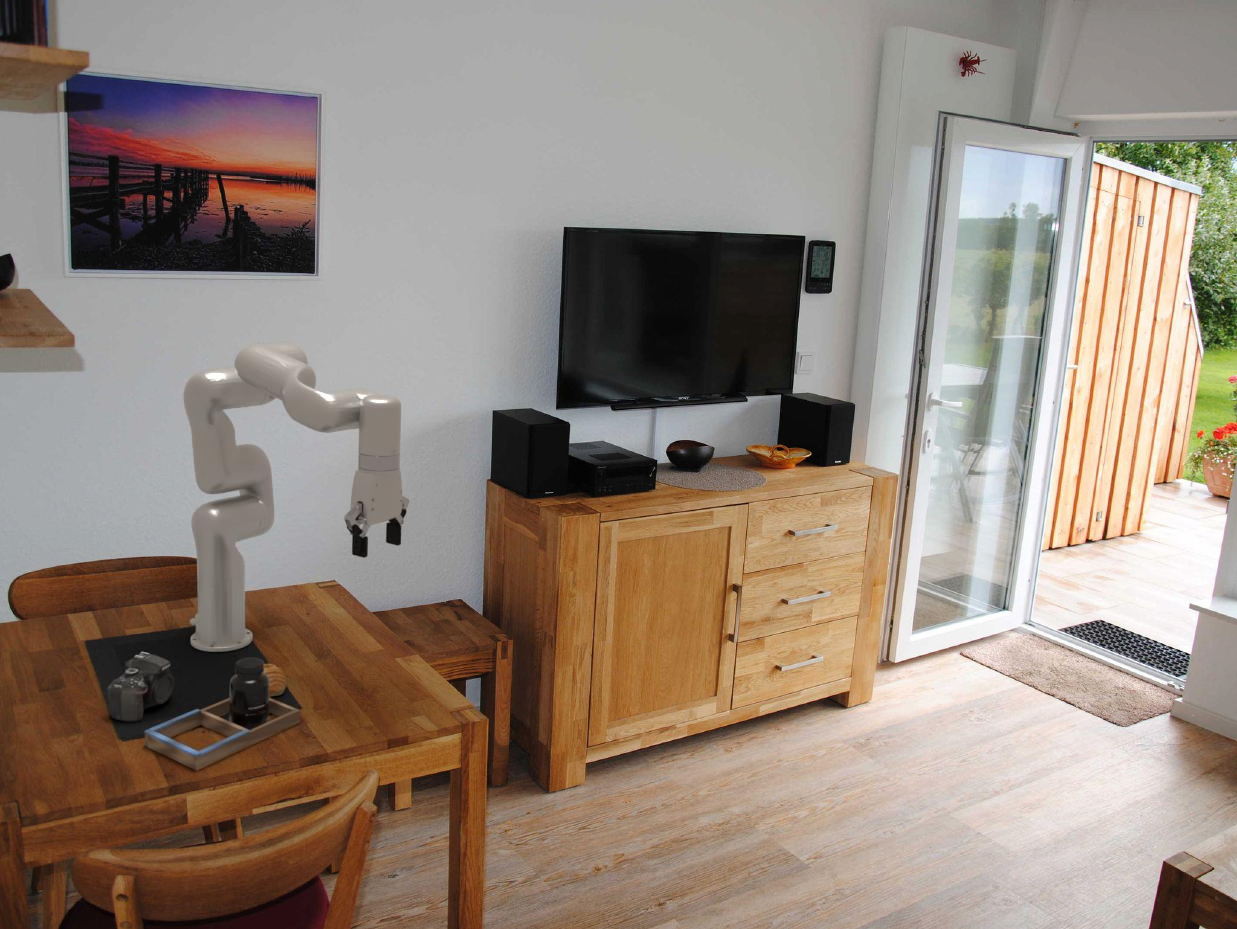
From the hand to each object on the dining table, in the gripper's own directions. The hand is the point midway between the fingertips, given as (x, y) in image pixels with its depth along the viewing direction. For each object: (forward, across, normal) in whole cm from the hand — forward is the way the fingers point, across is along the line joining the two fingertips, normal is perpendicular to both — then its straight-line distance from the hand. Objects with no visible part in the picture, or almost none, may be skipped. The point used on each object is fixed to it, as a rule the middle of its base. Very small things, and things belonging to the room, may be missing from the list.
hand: (376, 549), depth 197 cm
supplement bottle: (+31, +20, -12) cm, 39 cm away
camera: (+31, +26, -32) cm, 52 cm away
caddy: (+31, +26, -12) cm, 42 cm away
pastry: (+31, +7, -20) cm, 38 cm away
